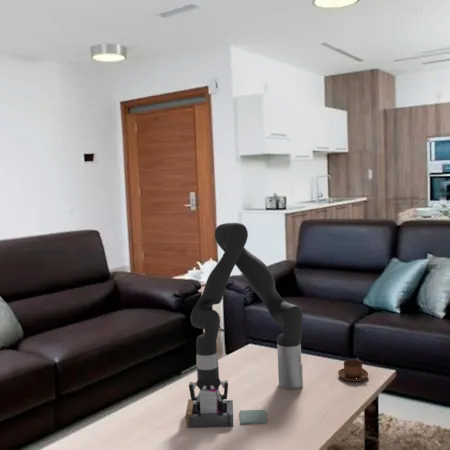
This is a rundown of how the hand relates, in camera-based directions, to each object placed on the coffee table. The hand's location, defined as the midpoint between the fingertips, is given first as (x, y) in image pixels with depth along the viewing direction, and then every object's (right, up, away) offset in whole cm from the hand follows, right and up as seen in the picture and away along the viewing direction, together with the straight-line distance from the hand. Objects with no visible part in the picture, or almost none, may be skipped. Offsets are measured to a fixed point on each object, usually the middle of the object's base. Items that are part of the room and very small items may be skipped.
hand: (210, 410), depth 184 cm
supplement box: (0, -3, 0) cm, 3 cm away
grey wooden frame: (0, -3, 0) cm, 3 cm away
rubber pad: (+15, -2, 0) cm, 15 cm away
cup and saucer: (+58, +3, +30) cm, 65 cm away
